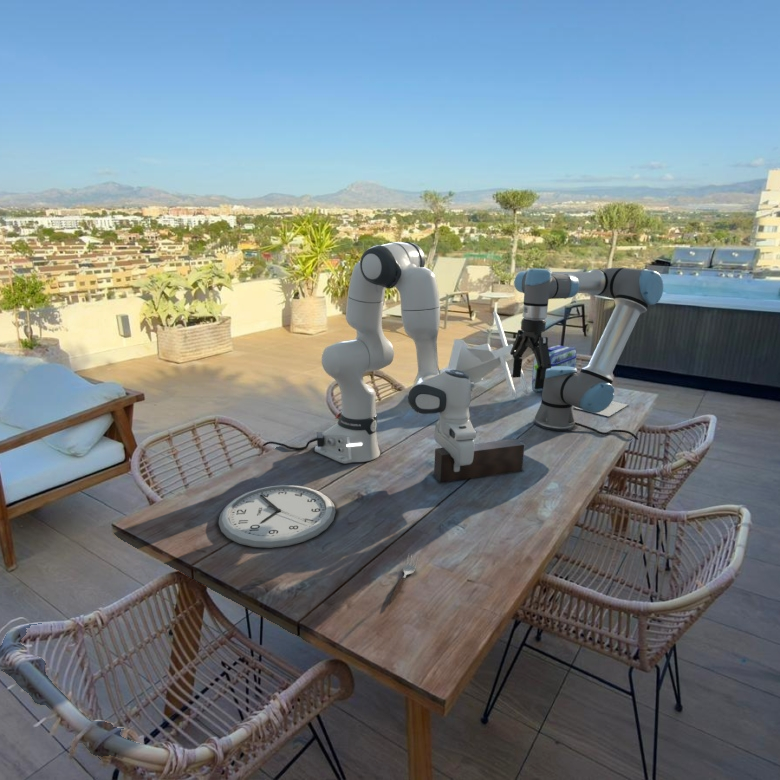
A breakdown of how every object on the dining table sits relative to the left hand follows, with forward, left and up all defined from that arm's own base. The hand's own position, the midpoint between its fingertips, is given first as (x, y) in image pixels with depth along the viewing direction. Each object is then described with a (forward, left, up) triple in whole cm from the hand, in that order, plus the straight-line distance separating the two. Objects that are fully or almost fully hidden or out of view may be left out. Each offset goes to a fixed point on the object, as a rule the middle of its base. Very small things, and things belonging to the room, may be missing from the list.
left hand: (451, 466), depth 159 cm
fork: (+12, -51, -4) cm, 53 cm away
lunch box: (+3, +109, -4) cm, 109 cm away
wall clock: (-29, -45, -4) cm, 54 cm away
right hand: (+12, +31, +21) cm, 39 cm away
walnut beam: (+6, +7, -4) cm, 10 cm away
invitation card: (+27, +97, -4) cm, 100 cm away
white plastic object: (-25, +86, -4) cm, 90 cm away
